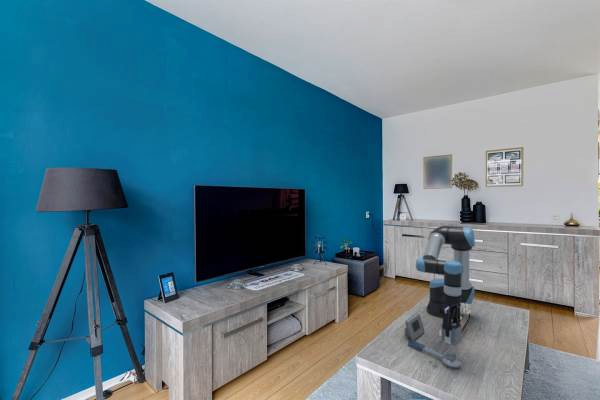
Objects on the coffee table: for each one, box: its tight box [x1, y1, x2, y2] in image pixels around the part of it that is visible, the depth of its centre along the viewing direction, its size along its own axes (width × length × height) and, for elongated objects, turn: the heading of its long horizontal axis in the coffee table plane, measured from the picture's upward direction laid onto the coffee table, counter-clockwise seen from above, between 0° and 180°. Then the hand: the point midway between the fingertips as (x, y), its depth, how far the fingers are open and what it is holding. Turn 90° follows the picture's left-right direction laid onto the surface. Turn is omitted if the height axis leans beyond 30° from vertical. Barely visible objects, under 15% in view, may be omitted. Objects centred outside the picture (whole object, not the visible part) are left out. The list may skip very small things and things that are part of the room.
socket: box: [440, 321, 463, 347], centre depth 135 cm, size 6×6×9 cm
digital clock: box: [404, 312, 426, 341], centre depth 164 cm, size 16×9×11 cm, turn 122°
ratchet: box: [407, 339, 461, 370], centre depth 143 cm, size 8×26×6 cm, turn 37°
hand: (451, 340), depth 135 cm, fingers closed on socket, 6 cm apart
